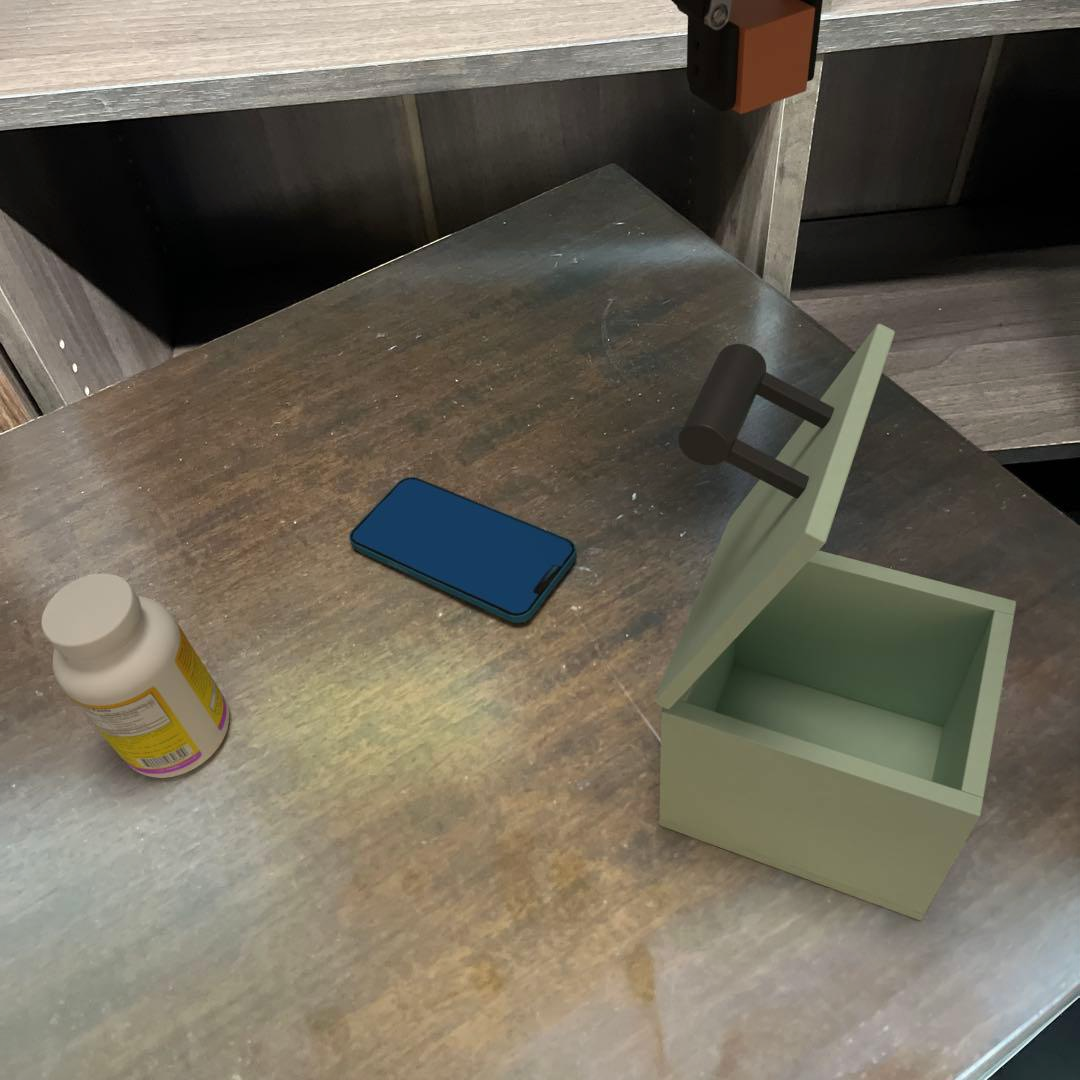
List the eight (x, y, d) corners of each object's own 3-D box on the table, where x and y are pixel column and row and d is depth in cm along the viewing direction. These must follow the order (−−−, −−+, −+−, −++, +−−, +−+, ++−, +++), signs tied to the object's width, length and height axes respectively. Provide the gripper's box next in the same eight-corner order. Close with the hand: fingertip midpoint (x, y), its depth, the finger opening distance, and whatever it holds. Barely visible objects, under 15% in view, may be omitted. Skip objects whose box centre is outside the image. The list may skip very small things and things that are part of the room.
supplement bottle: (179, 670, 63) (94, 540, 54) (254, 714, 61) (179, 585, 51) (100, 752, 60) (-6, 628, 50) (176, 802, 57) (80, 681, 48)
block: (806, 91, 50) (816, 6, 47) (740, 115, 49) (745, 30, 46) (758, 64, 52) (764, -18, 49) (694, 86, 51) (696, 4, 48)
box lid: (896, 330, 39) (767, 263, 40) (826, 543, 33) (670, 460, 33) (742, 526, 51) (644, 473, 52) (668, 710, 45) (555, 649, 45)
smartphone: (406, 472, 72) (582, 543, 66) (409, 481, 73) (583, 553, 67) (342, 539, 69) (522, 622, 62) (345, 548, 69) (523, 631, 63)
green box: (958, 727, 56) (1016, 600, 47) (920, 921, 49) (980, 816, 41) (722, 656, 61) (735, 528, 52) (658, 825, 54) (660, 711, 45)
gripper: (644, -361, 32) (649, 168, 46) (1033, -442, 36) (931, 65, 50) (537, -376, 37) (571, 108, 50) (893, -446, 41) (835, 19, 55)
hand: (751, 83), depth 50 cm, fingers closed on block, 4 cm apart
